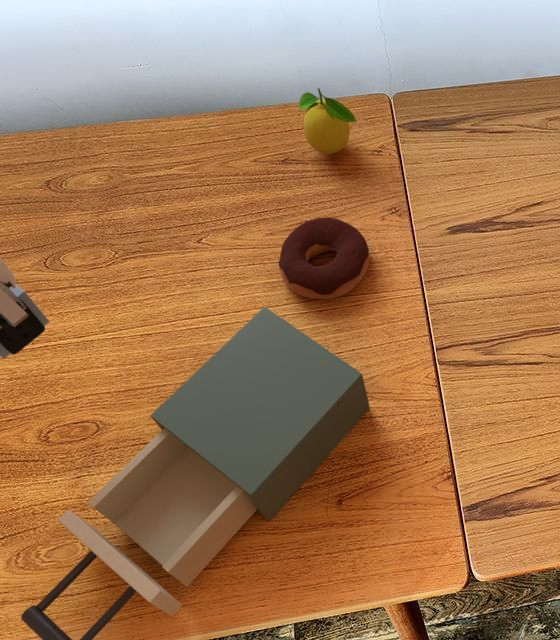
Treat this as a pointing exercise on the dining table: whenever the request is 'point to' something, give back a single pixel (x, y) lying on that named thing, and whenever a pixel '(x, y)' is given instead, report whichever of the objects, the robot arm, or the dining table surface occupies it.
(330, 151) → the lemon
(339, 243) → the donut
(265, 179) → the dining table surface
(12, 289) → the block
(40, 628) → the drawer
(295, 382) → the cabinet
